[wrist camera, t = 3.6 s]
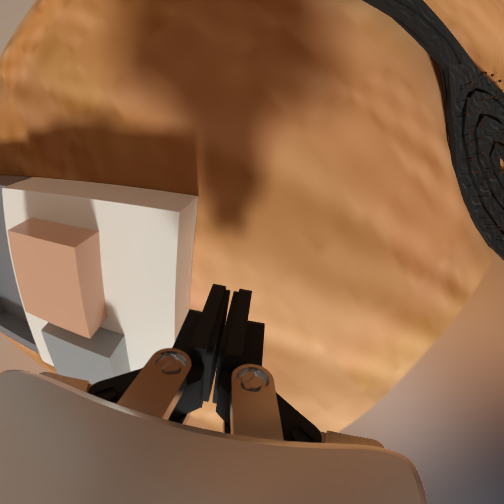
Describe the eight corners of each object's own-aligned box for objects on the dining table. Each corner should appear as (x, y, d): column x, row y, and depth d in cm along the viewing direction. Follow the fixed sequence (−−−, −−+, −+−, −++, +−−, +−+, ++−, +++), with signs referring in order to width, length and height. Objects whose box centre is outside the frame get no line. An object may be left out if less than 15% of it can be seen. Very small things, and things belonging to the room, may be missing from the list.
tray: (-21, 174, 14) (-42, 181, 12) (30, 176, 14) (5, 185, 12) (5, 312, 20) (-9, 325, 17) (57, 338, 20) (43, 355, 17)
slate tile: (58, 311, 14) (40, 330, 12) (124, 334, 14) (109, 358, 12) (74, 365, 16) (61, 383, 14) (134, 387, 16) (123, 409, 14)
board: (33, 176, 14) (1, 187, 11) (198, 196, 14) (179, 212, 11) (59, 339, 20) (42, 360, 17) (186, 381, 20) (176, 411, 17)
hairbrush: (346, -98, 4) (581, 227, 8) (338, -67, 7) (552, 213, 12) (236, -45, 7) (524, 309, 11) (247, -11, 10) (498, 283, 14)
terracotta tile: (31, 217, 12) (7, 230, 10) (99, 231, 12) (74, 247, 10) (44, 294, 14) (25, 311, 12) (107, 316, 14) (90, 338, 12)
